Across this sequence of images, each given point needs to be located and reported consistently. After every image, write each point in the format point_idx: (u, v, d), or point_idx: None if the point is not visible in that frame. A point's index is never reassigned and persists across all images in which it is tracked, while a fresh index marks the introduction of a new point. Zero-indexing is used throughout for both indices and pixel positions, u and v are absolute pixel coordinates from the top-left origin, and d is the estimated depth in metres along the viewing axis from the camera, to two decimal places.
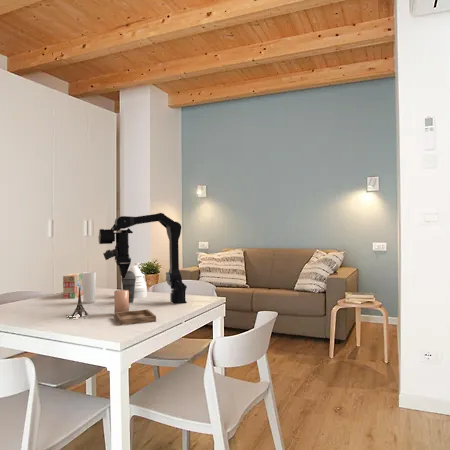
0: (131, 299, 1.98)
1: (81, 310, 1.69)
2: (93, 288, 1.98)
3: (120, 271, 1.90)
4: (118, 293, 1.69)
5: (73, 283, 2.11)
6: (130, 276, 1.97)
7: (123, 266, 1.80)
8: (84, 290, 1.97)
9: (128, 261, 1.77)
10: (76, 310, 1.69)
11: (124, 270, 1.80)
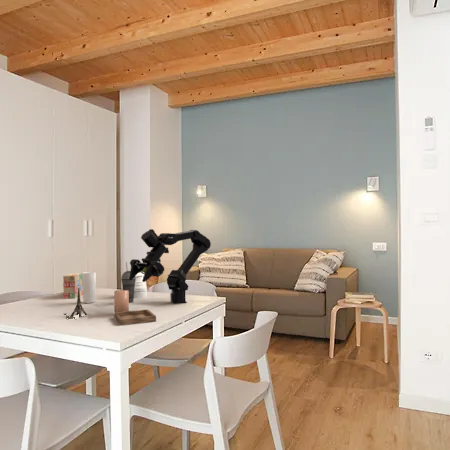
0: (131, 299, 1.98)
1: (80, 310, 1.69)
2: (93, 288, 1.98)
3: None
4: (118, 293, 1.69)
5: (73, 283, 2.11)
6: None
7: None
8: (84, 290, 1.97)
9: None
10: (75, 310, 1.68)
11: None
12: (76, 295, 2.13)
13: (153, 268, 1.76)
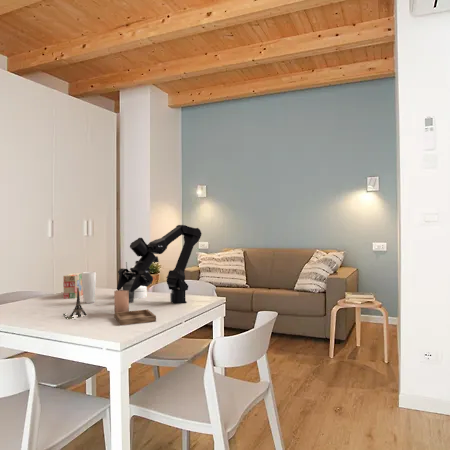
0: (131, 299, 1.98)
1: (80, 310, 1.68)
2: (93, 288, 1.98)
3: None
4: (118, 293, 1.69)
5: (73, 283, 2.11)
6: None
7: None
8: (84, 290, 1.97)
9: None
10: (75, 310, 1.68)
11: None
12: (76, 295, 2.13)
13: (141, 278, 1.71)
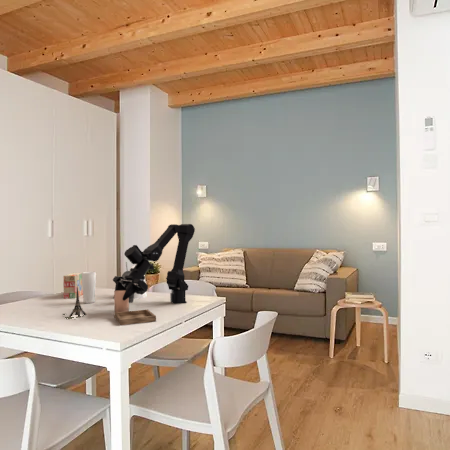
0: (131, 299, 1.98)
1: (79, 310, 1.68)
2: (93, 288, 1.98)
3: None
4: (118, 293, 1.69)
5: (73, 283, 2.11)
6: None
7: None
8: (84, 290, 1.97)
9: None
10: (74, 310, 1.68)
11: None
12: (76, 295, 2.13)
13: (134, 286, 1.70)
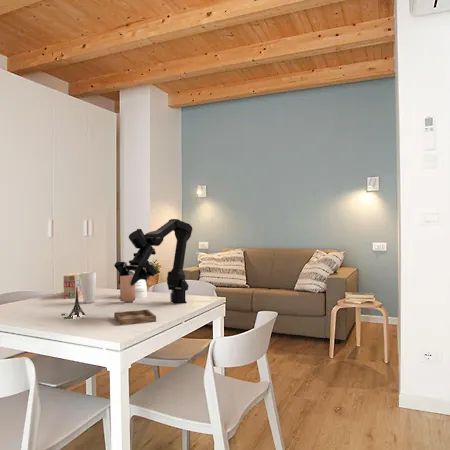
0: None
1: (78, 310, 1.68)
2: (93, 288, 1.98)
3: None
4: (126, 278, 1.62)
5: (73, 283, 2.12)
6: None
7: None
8: (84, 290, 1.97)
9: None
10: (73, 310, 1.68)
11: None
12: None
13: (142, 270, 1.64)
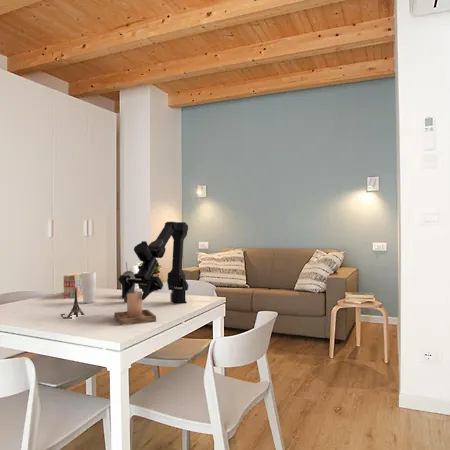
0: None
1: (77, 310, 1.68)
2: (93, 288, 1.98)
3: None
4: (134, 295, 1.59)
5: (73, 283, 2.12)
6: (130, 276, 1.97)
7: None
8: (84, 290, 1.97)
9: None
10: (72, 310, 1.68)
11: None
12: None
13: (153, 284, 1.61)
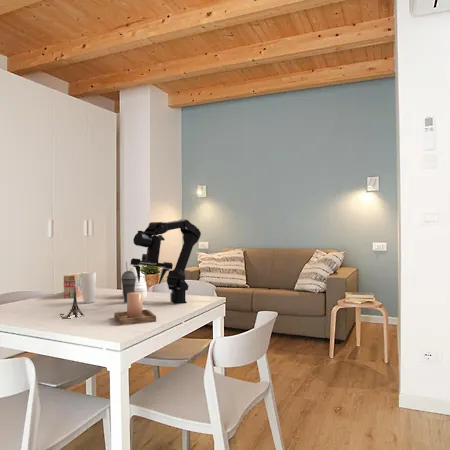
0: None
1: (76, 310, 1.68)
2: (93, 288, 1.98)
3: (159, 279, 1.84)
4: (134, 295, 1.59)
5: (74, 283, 2.12)
6: (130, 276, 1.97)
7: None
8: (84, 290, 1.97)
9: (130, 263, 1.79)
10: (71, 310, 1.68)
11: (137, 273, 1.81)
12: (76, 295, 2.14)
13: (167, 270, 1.84)
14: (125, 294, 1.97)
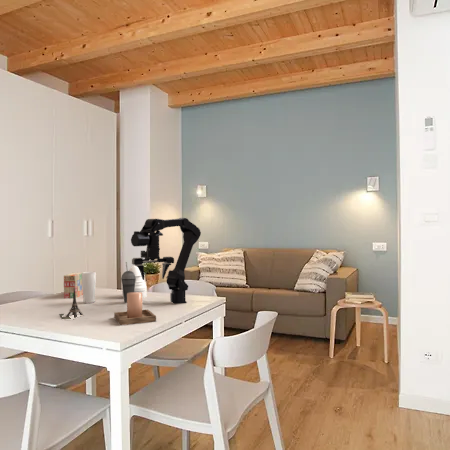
0: None
1: (76, 311, 1.68)
2: (93, 288, 1.98)
3: (162, 273, 1.89)
4: (134, 295, 1.59)
5: (74, 283, 2.12)
6: (130, 276, 1.97)
7: None
8: (84, 290, 1.97)
9: (133, 263, 1.81)
10: (71, 310, 1.68)
11: (141, 272, 1.83)
12: (76, 295, 2.14)
13: (169, 264, 1.88)
14: (125, 294, 1.97)
